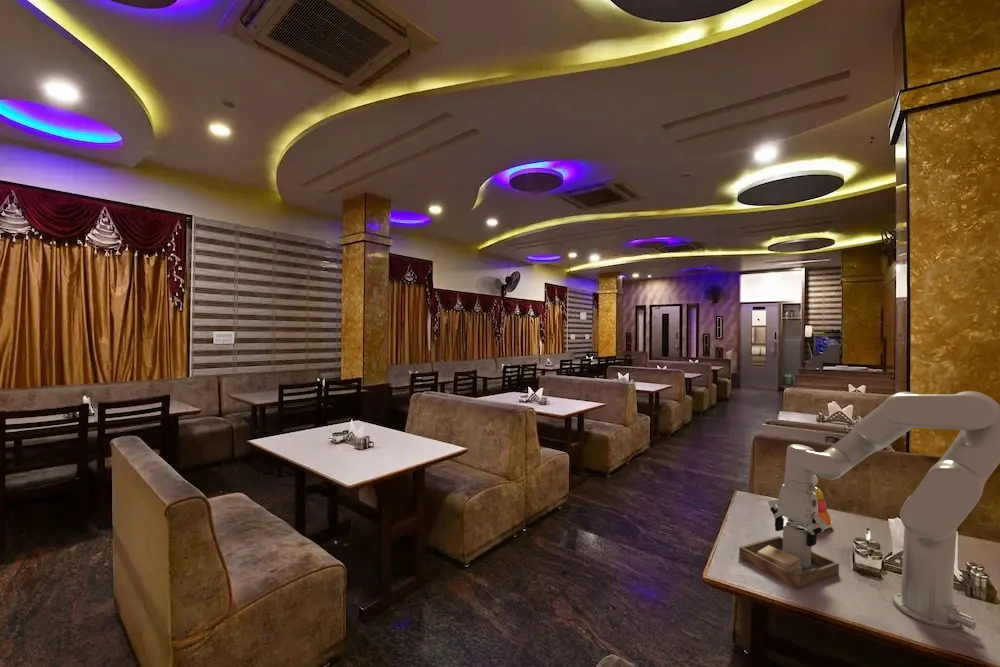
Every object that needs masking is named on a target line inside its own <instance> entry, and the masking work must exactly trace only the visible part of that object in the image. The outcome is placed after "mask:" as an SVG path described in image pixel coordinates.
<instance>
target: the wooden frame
mask: <svg viewBox="0 0 1000 667" xmlns="http://www.w3.org/2000/svg"><path fill="white" fill-rule="evenodd" d="M768 545H769V546H772V547H774V548H777V549H780V550H782V548H783V536H780V535H778V536H775V537H774V536H773V537H770V538H767V539H764V540H760V541H755V542H752V543H749V544H746V545H742V546H739V549H738V550H739V551H738V558H739V559H741V560H743V561H745V562H746V563H748V564H749V565H752V566H753V567H755V568H757V569H759V570H760V571H762V572H764V573H767V574H768V575H770V576H772V577H773V578H775V579H778V580H779V581H781V582H782V583H785V584H786V585H788V586H790V587H791V588H793V587H794V589H795V590H797V591H799V590H802V589H805V588H807V587H811V586H812V585H815V584H818V583H820V582H823V581H826V580H829V579H831V578H833V577H837V576H839V575H840V563H839V562H837V561H834V560H832V559H830V558H828V557H826V556H824V555H822V554H820V553H817V552H814V551H813V550H812V552H811V565H814V566H816V567H818V568H816V569H812V570H810V571H807V572H804V573H802V574H801V575H798V576H797V575H795V574H793V573H791V572H789V571H787V570H785V569H784V568H782V567H780V566H778V565H776V564H774V563H772V562H770V561H768V560H766V559H764V558H762V557H760V556H759V555H757V552H758V551H759V550H761V549H763V548H764V547H766V546H768Z"/></svg>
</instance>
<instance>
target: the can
mask: <svg viewBox="0 0 1000 667" xmlns="http://www.w3.org/2000/svg"><path fill="white" fill-rule="evenodd" d="M808 533H810V532H809V530H808V529H807V527H806V526H805V525H803V524H800V523H796V522H794V521H788V522H786V523H785V525H783V530H782V538H783V548H782V549H781V550H782V551H784V552H786V553H789V554H791V555H794V556H796V557H799V558H801V564H800V566H801V567H802V569H807V568H809V567H811V566H812V563H811V552H812V551H813V550H812V547H813V546H810V547H809V546H807V535H808Z"/></svg>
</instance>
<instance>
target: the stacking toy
mask: <svg viewBox="0 0 1000 667" xmlns="http://www.w3.org/2000/svg"><path fill="white" fill-rule="evenodd" d="M818 483H819V478H818V477H817V475H815V474H814V486H815V487H817V486H816V485H818ZM817 488H818V491H817V492H815V491H813V492H814V493H816V496H817V502H818V516H819V517H820V518H821V519H823V520H824V521H825V522H826V523H827V524H828V526H827V528H826V529H825V530H828V529H830V528H832V527H833V525H834V523H833V521H832V520H831V516H830V514H829V511H828V505H827V503H826V501H825V500H824V498H825V497H824V493H823V491H822V490H821V489H820V488H819V487H817ZM793 522H796V521H793ZM796 523H798V522H796ZM815 525H816V527H817V528H818V527H819V526H820V525H819V523H818V522H817V524H815ZM805 526H806V525H805Z"/></svg>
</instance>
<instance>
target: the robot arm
mask: <svg viewBox="0 0 1000 667" xmlns="http://www.w3.org/2000/svg"><path fill="white" fill-rule="evenodd" d="M913 428H918V429H936V430H937V429H938V430H955V431H956V430H959V433H958V434H957V436H956V437H955V438H954V440H953V441H952V442H951V444H950V446H949V447H948V449H947V450H946V451H945V453H944V454H943V455H942V456H941V458H940V459H939V460H938V461H937V462H935V464H934V465H932V466H931V467H930V468H929V469H928V472H927V473H926V475H925V476H924V478H922V480H921V481H920V483H919V485H918V486H917V487H916V488H915V489H914V491H913V492H912V494H910V495H909V496H908V497H907V499H906V500H905V501H904V503H903V505H902V506H901V508H900V512H899V517H900V518H899V519H900V521H901V523H902V525H903V528H904V530H903V531H904V532H903V548H902V564H901V565H902V568H901V569H902V571H901V587H900V588H901V589H900V590H901V592H900V593H896V594H894V595H893V596H892V602H893V604H894V606H896V607H897V608H898V609H899V610H900V611H901V612H902V613H904V614H906V615H908V616H910V617H911V618H913V619H916V620H917V621H920V622H922V623H925V624H928V625H932V626H934V627H938V628H942V629H958V628H959V627H961V625H962V626H964V627H966V628H968V629H970V630H972V631H973V630H975V629H976V626H977V625H976V624H977V623H976V621H974V618H973V616H970V615H969V614H966V613H964V612H960V610H959V609H958V604H957V603H955V602H953V601H954V600H953V599H954V582H955V581H954V579H955V576H954V575H955V561H956V548H957V547H956V544H957V542H956V541H957V533H958V532H957V530H958V527H959V526H960V525H961V524H962V523H963V522H964V520H965V519H966V518H967V517H968V516H969V514H970V513H971V512H972V510H973V509H974V508H975V507H976V506H977V504H978V502H979V501H980V499H981V498H982V496H983V492H984V487H985V485H986V482H987V481H988V479H989V478H990V477H991V475H992V474H993V473H994V471H996V469H997V468H998V466H999V464H1000V404H999V403H998V402H997V401H996V400H994V399H993V398H992V397H990V396H989V395H987V394H985V393H982V392H978V391H974V390H972V391H971V390H968V391H966V390H965V391H961V392H960V391H959V392H957V393H956V394H955V393H954V394H919V393H915V392H911V391H899V392H896V393H895V394H892V395H890V396H889V397H887V398H886V399H885V400H884V401H883V402H882V403H880V404H879V406H877V407H876V408H875V409H873V410H872V411H870V412H869V413H868V414H867V415H865V416H864V417H863V418H862V419H860V420H858V421H857V422H856V423H855V424H854V425H853V427H852V428H851V429H850V431H849V432H848V433H846V435H844V436H843V437H842V438H841V439H839V440H838V441H837V442H836V443H834V444H833V445H831V446H830V447H829V448H828V449H826V450H824V451H823V452H817V451H816V450H815V449H814V448H813V447H810V446H807V445H803V444H797V443H796V444H795V443H793V444H790V445H788V446H787V448H786V457H785V470H784V482H783V484H782V485H781V488H780V490H779V493H778V499H773V500H769V501H767V503H768V506H769V508H770V511H771V513H772V514H773V518H775V519H774V528H775V529H774V531H776V532H779V531H781V532H782V531H783V527H784V526H785V525H784V522H785V519H784V517H785V518H786V519H789V520H791V521H792V522H794V521H796V522H798V523H800V524H803V525H806V527H807V529H808V530H809V532H810V533H808V535H807V546H809V547H810V546H812V547H814V546H815V545H817V541H818V540H817V539H818V534H820V533H822V532H824V531H825V530H827V529H826V528H827V526H828V524H827V523H826V522H825V521H824V520H823V519H821V518H820V517H819V516H818V502H817V496H816V493H814V492H813V491H815V492H817V491H818V488H819V487H818V488H817V486H816V485H815V486H816V487H815V486H814V474H815V475H816V477H817V476H818V477H820V478H823V479H826V480H831V481H832V480H837V479H839V478H841V477H842V476H844V475H845V474H846V473H847V472H848V471H850V470H851V469H852V468H854V467H856V466H857V465H858V464H859V463H860V462H862V461H864V460H865V459H866V458H869V456H870V455H872V454H874V453H875V452H878V451H879V452H880V451H881V450H883V449H885V448H887V447H888V446H890V444H892V443H894V442H895V441H896V440H898V439H900V438H901V437H902V436H904V435H905V434H906V433H908V432H909V431H910V430H912V429H913ZM776 505H777V506H776ZM817 522H818V523H819V525H820V526H819V527H818V528H817V527H816V525H815V524H817Z"/></svg>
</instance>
